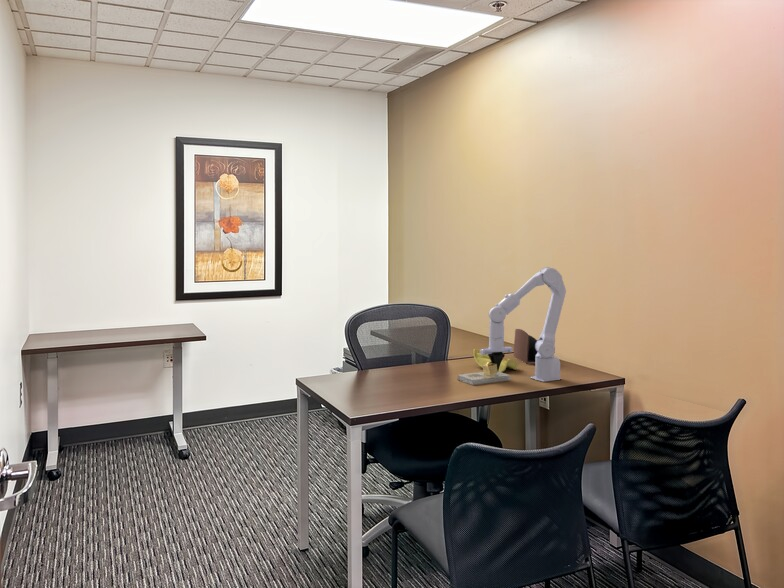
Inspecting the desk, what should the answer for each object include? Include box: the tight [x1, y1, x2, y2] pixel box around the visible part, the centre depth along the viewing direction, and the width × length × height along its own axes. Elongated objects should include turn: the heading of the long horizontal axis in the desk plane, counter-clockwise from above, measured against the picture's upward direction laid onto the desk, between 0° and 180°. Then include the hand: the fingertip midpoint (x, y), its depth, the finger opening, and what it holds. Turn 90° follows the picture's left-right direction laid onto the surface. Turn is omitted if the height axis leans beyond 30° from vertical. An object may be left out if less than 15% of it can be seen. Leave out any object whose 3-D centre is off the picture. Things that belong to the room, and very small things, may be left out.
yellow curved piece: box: [472, 348, 519, 373], centre depth 266 cm, size 20×7×10 cm
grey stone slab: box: [457, 371, 511, 386], centre depth 243 cm, size 18×10×2 cm, turn 118°
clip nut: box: [481, 362, 498, 376], centre depth 244 cm, size 4×4×4 cm
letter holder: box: [513, 328, 538, 365], centre depth 284 cm, size 10×20×14 cm, turn 5°
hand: (495, 371), depth 246 cm, fingers closed
